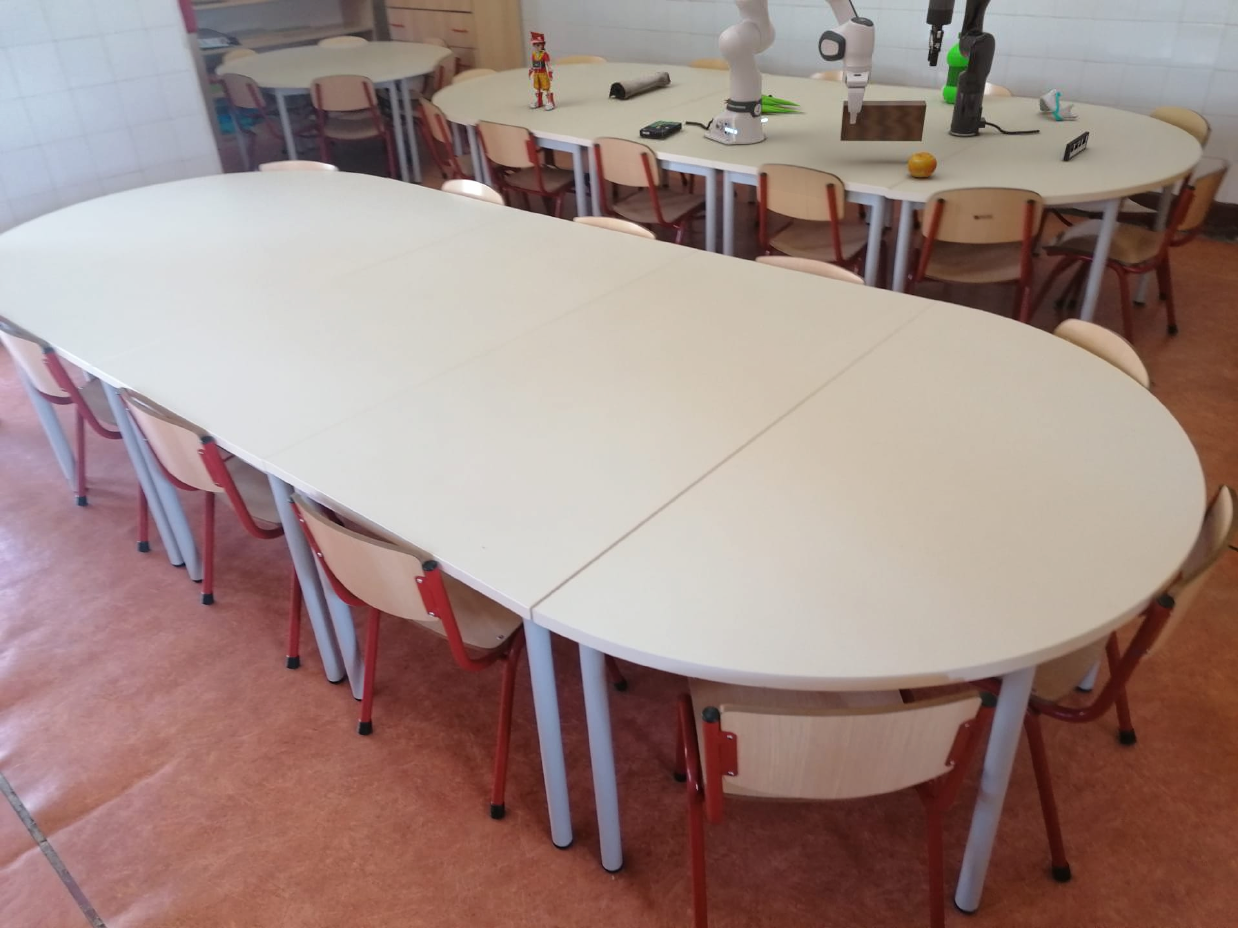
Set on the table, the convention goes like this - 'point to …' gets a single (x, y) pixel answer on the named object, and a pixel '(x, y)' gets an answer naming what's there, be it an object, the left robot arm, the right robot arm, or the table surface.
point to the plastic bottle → (954, 72)
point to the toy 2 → (769, 104)
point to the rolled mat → (638, 84)
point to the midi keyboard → (1076, 145)
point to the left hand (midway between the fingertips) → (852, 120)
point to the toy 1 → (541, 71)
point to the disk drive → (660, 129)
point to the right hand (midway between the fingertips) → (931, 63)
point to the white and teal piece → (1055, 105)
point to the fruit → (922, 164)
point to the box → (885, 121)
